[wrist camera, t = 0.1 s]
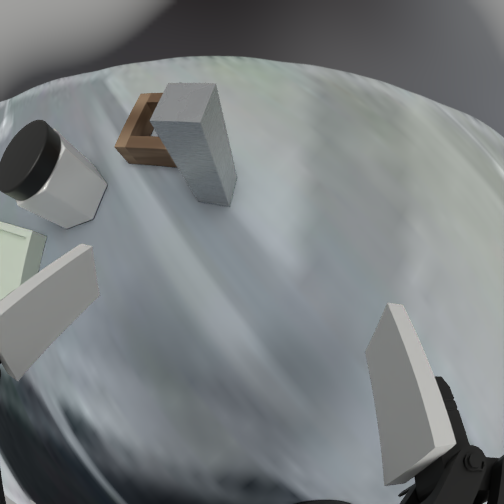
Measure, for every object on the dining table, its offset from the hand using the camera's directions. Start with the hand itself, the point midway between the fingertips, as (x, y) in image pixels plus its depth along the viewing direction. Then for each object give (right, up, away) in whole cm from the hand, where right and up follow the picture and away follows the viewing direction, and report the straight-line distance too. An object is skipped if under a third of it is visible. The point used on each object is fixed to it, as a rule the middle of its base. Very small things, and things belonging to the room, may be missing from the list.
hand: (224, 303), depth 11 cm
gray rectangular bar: (-2, +9, +18) cm, 20 cm away
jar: (-21, +9, +19) cm, 29 cm away
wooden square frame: (-9, +16, +20) cm, 27 cm away
